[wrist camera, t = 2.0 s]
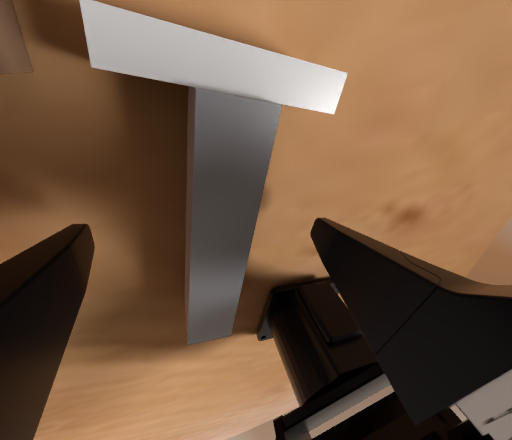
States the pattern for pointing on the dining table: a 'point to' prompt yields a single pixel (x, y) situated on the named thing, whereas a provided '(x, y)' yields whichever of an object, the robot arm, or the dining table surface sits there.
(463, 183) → the dining table surface
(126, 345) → the dining table surface
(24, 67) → the bay
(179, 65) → the pusher tool
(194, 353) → the dining table surface
